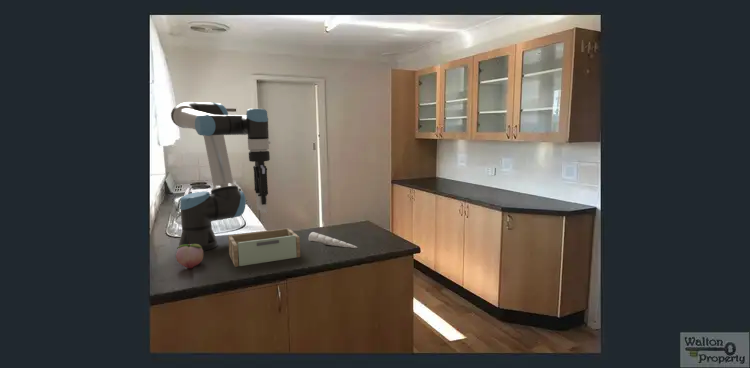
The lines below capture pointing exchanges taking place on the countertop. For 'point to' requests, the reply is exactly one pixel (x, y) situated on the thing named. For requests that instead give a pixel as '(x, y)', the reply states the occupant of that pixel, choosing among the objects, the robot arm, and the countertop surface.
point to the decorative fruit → (189, 255)
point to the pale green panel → (266, 250)
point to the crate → (245, 237)
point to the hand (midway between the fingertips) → (262, 211)
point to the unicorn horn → (328, 240)
